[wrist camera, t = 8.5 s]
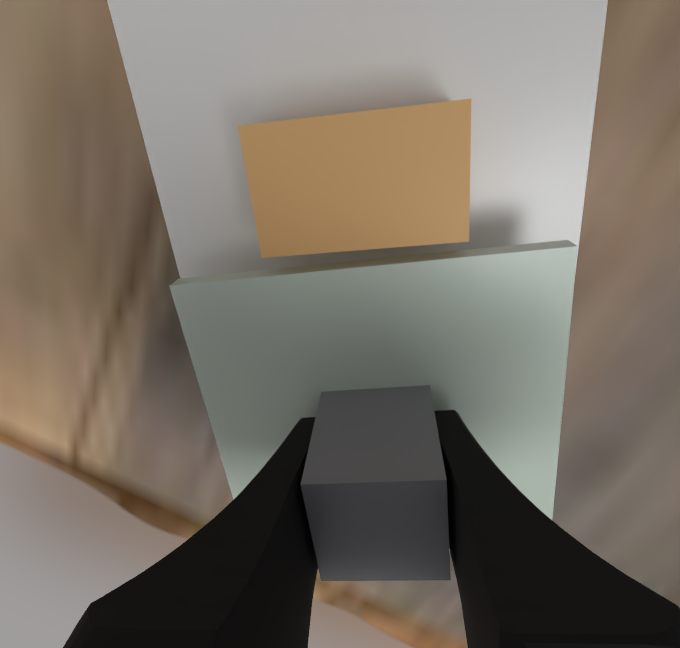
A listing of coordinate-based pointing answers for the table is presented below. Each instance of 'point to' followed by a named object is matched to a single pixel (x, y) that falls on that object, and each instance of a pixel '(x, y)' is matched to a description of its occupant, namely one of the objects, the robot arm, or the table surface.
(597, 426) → the table surface
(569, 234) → the white layered base plate
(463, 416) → the cover
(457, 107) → the slider
